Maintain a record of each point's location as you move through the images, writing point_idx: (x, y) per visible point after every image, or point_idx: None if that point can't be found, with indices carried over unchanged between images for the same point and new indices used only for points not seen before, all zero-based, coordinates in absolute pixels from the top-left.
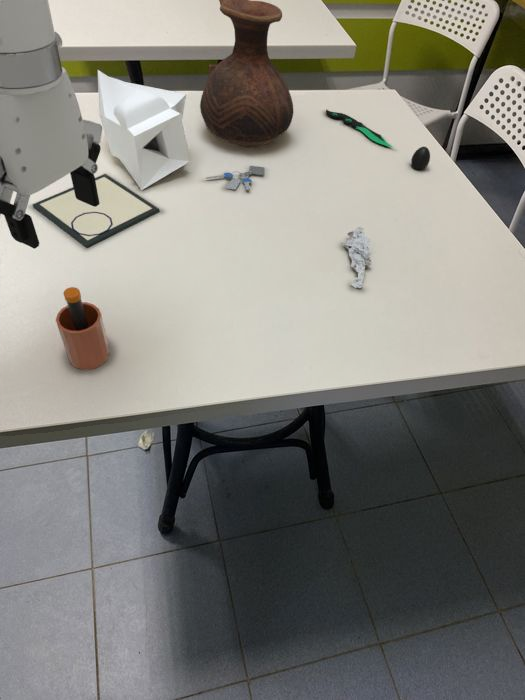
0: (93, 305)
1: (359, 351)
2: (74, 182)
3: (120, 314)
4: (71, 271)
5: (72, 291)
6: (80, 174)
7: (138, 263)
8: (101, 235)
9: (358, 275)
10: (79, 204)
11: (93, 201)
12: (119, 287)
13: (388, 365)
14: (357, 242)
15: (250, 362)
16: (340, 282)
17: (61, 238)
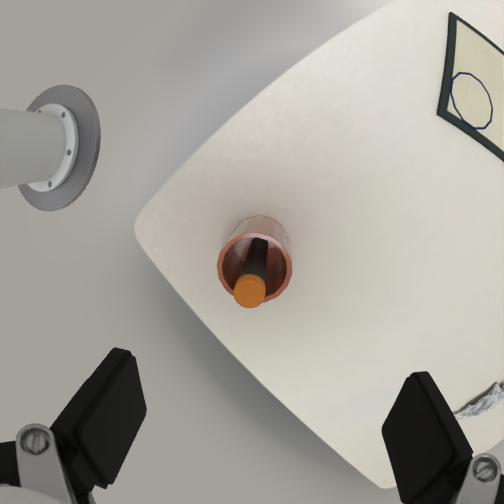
0: (290, 274)
1: (372, 444)
2: (428, 430)
3: (345, 237)
4: (388, 118)
5: (251, 295)
6: (426, 486)
7: (442, 202)
8: (463, 124)
9: (456, 417)
10: (487, 67)
11: (385, 441)
12: (392, 204)
13: (362, 459)
14: (494, 399)
15: (330, 396)
16: (452, 404)
17: (431, 70)
